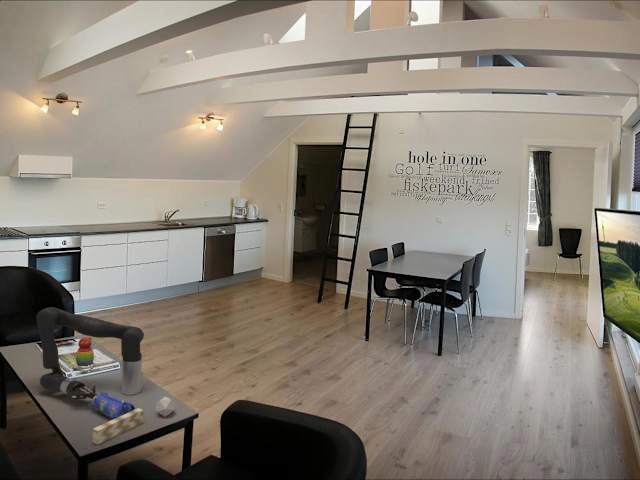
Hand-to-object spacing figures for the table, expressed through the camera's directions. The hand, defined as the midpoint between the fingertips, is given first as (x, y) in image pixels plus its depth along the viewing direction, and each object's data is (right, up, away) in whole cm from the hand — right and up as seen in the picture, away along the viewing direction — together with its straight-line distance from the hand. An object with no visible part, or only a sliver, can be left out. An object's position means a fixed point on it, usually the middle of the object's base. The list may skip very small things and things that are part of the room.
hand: (96, 397), depth 240 cm
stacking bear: (-29, +1, +50) cm, 58 cm away
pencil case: (+9, -8, -3) cm, 13 cm away
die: (+32, -9, +2) cm, 33 cm away
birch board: (+17, -10, -17) cm, 26 cm away
